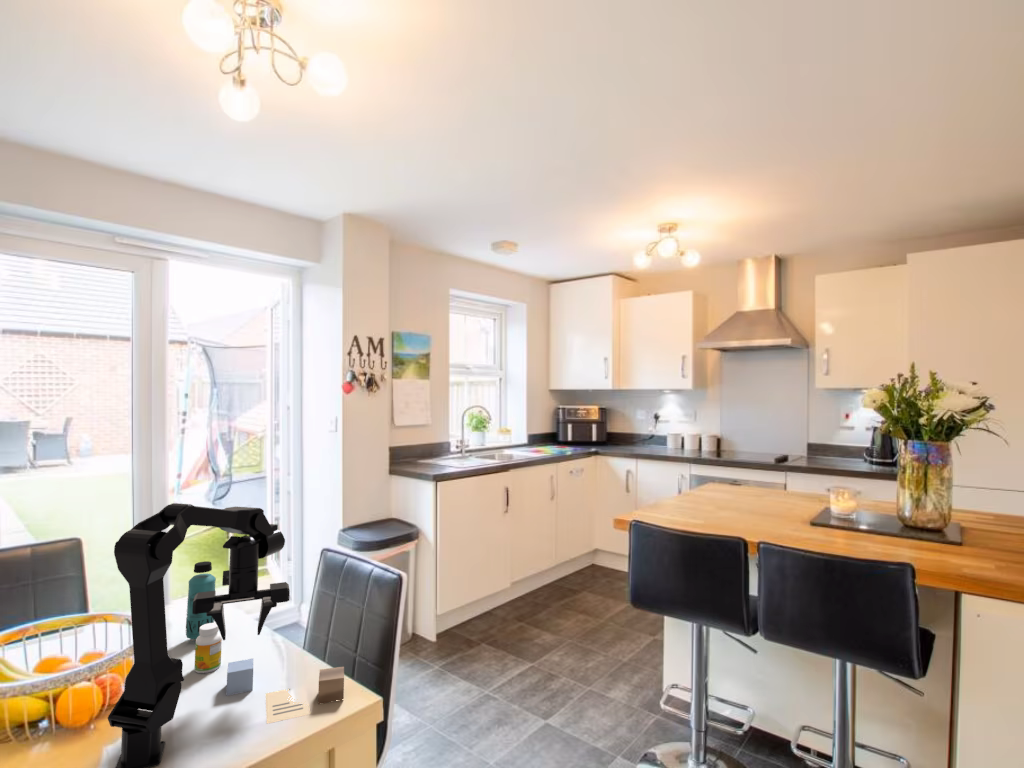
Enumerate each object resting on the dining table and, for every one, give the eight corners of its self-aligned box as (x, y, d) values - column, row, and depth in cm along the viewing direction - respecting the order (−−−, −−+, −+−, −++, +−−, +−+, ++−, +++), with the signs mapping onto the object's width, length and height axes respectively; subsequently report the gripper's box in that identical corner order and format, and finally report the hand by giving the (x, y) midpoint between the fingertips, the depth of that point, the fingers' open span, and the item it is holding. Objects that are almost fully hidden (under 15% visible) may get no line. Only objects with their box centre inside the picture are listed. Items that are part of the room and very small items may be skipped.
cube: (252, 691, 116) (253, 668, 116) (226, 697, 113) (227, 672, 114) (252, 681, 120) (253, 658, 120) (227, 685, 118) (228, 662, 118)
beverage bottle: (186, 636, 142) (189, 560, 143) (215, 632, 145) (217, 557, 145) (183, 647, 136) (186, 567, 137) (213, 642, 139) (216, 564, 140)
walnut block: (343, 702, 112) (344, 677, 112) (318, 705, 111) (318, 681, 111) (343, 689, 117) (344, 666, 117) (319, 693, 115) (319, 669, 116)
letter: (310, 714, 107) (310, 713, 107) (266, 724, 104) (266, 723, 104) (305, 686, 118) (305, 685, 118) (265, 694, 114) (265, 693, 114)
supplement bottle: (189, 670, 124) (190, 627, 125) (211, 660, 129) (213, 619, 129) (203, 676, 122) (205, 632, 122) (225, 666, 127) (227, 624, 127)
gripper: (287, 551, 129) (285, 616, 128) (198, 559, 121) (195, 630, 120) (290, 563, 119) (288, 635, 118) (193, 574, 111) (190, 650, 110)
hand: (241, 636), depth 117 cm, fingers open, 6 cm apart
